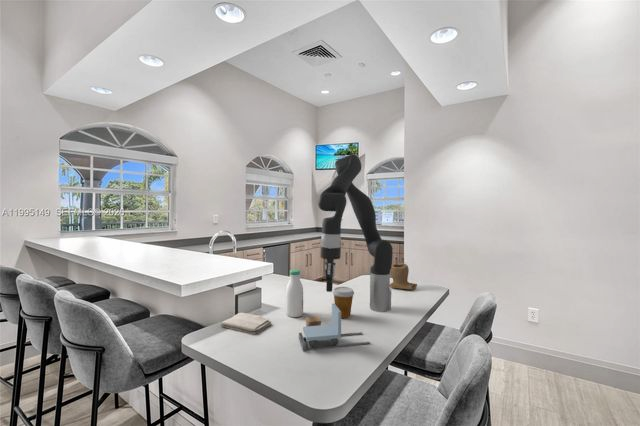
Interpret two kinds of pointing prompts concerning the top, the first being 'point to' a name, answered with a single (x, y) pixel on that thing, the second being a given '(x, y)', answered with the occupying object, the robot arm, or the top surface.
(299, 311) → the milk bottle
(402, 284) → the tan boot
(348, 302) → the disposable coffee cup
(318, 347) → the rails
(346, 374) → the top surface
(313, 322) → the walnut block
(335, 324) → the pale blue l-shaped block
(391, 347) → the top surface
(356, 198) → the robot arm
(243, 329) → the washcloth
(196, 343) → the top surface
